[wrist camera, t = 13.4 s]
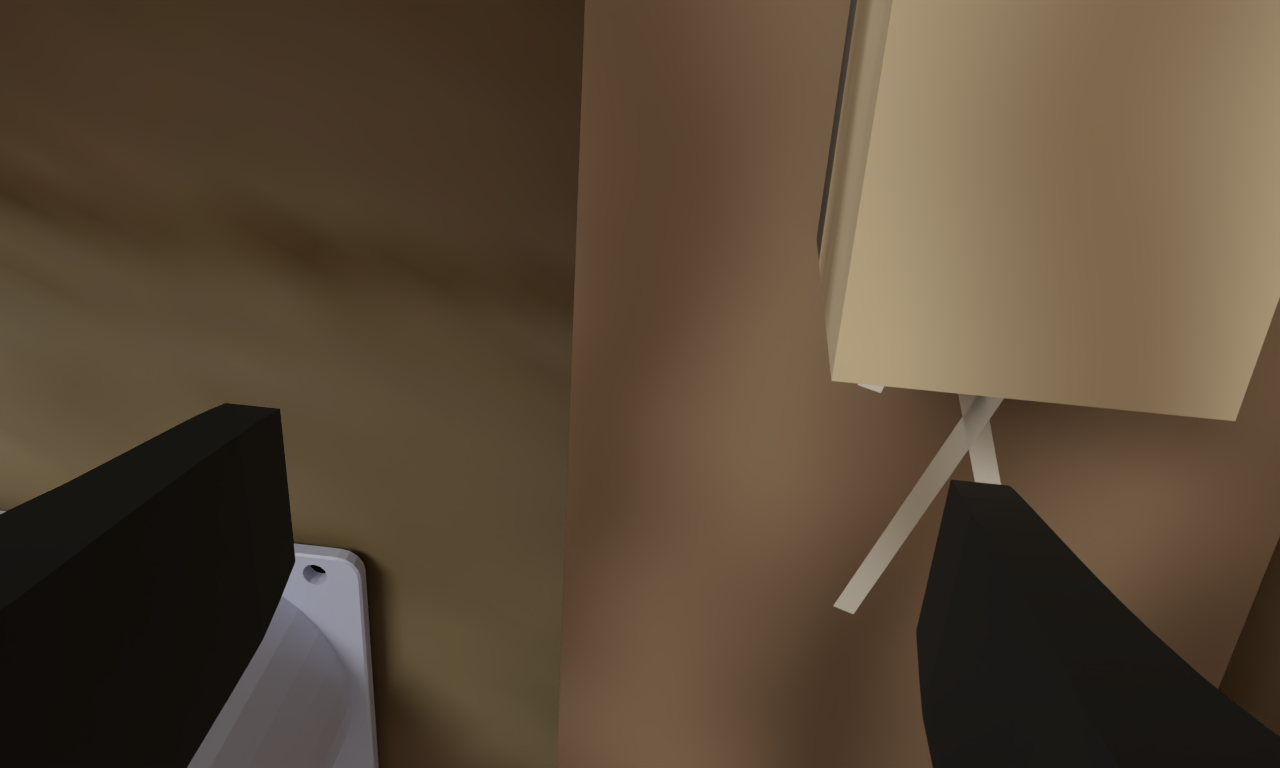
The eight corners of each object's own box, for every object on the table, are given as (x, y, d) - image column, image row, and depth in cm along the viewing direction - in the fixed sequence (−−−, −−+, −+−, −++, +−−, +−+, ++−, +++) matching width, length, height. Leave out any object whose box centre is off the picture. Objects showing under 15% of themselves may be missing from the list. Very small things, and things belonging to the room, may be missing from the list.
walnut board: (563, 797, 28) (553, 848, 26) (620, -561, 15) (606, -592, 14) (1107, 865, 27) (1124, 921, 26) (1628, -507, 15) (1712, -534, 13)
